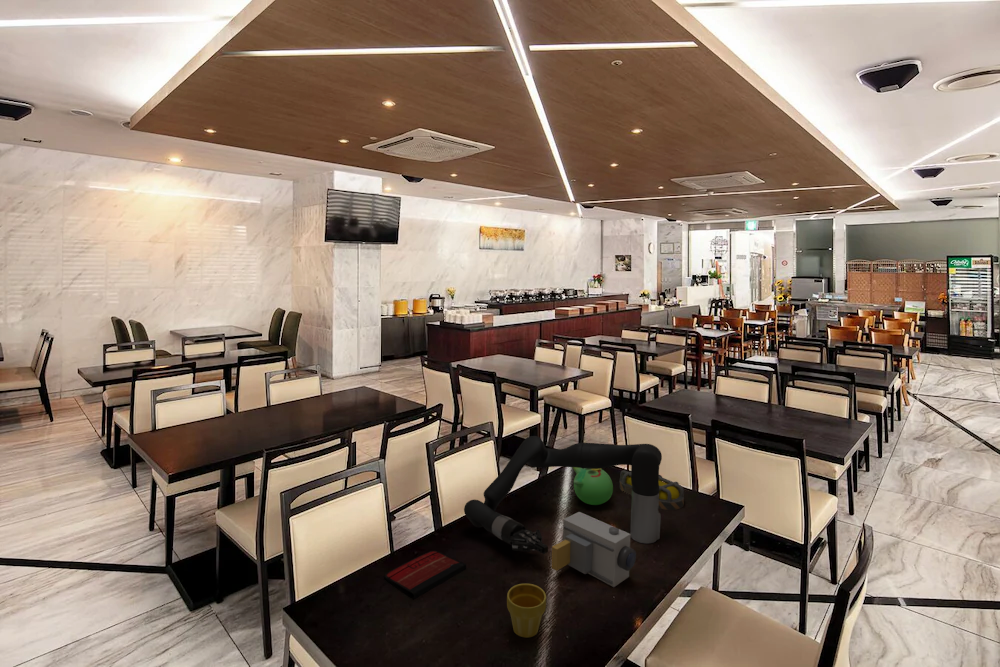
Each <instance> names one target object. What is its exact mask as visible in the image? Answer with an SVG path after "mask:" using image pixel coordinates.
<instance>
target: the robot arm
mask: <svg viewBox="0 0 1000 667" xmlns="http://www.w3.org/2000/svg"><path fill="white" fill-rule="evenodd" d="M662 458H663V457H662V452H661V450H660V448H658V447H657V446H656V445H653V444H651V443H637V444H636V443H635V444H611V443H596V442H577V443H574V444H572V445H569V446H567V447H563V448H559V449H558V448H548V447H546V446H545V443H544V441H543V439H542V438H541V437H540V436H537V435H530V436H528V437H526V438H525V439H523V441H522V442H521V444H520V445H519V446H518V448H517V449H516V451H515V452H514V453H513V455H512V457H511V458H510V460H509V461H508V462H507V464H506V465H505V467H504V468H503V469H502V471H501V472H500V474H498V476H497V477H496V478H495V479H494V480H493V481H492V482H491V483H490V484H489V486H487V487H486V488H485V490H484V492H483V498H484V502H482V501H481V500H478V499H471V500H469V501H467V502H466V503H465V504H464V508H463V512H464V515H465V517H466V518H467V519H468V520H469V522H470V523H471V524H472V525H473V526H474V527H476V528H484V530H485V531H487V532H488V533H490V534H492V535H494V536H495V537H497V538H498V539H499V540H501V541H503V542H504V543H506V544H508V545H510V546H511V549H512V550H511V551H515V552H527V553H529V552H531V551H537V552H539V553H541V554H543V555H545V554H547V553H548V551H549V550H548V549H549V547H548V545H547V544H545V543H543V537H542V534H541V533H542V532H541V530H540V529H536V530H535V531H532V530H529V529H526V527H525V526H524V524H523V523H521V522H518V521H517V520H514V519H513V518H511V517H509V516H506V515H503V514H501V513H499V512H497V509H498V506H499V504H500V503H501V502H502V501H503V500H504V499H505V498H506V496H508V494H509V493H510V492H511V491H512V489H513V488H514V485H515V483H516V481H517V478H518V477H519V474H520V473H521V471H522V469H523V468H524V466H525V465H526V464H528V465H529V466H530V467H533V468H555V467H559V468H560V467H563V468H572V467H577V468H582V469H584V468H589V469H600V468H602V469H605V468H612V467H616V466H623V465H624V466H630V467H631V468H630V472H631V483H632V496H631V502H630V503H631V505H630V506H631V507H630V508H631V509H630V530H629V531H630V533H629V534H631V535H630V539H632V540H633V541H635V542H637V543H640V544H653V543H655V542H656V541H658V540H660V535H661V519H662V517H661V512H659V508H658V506H659V475H660V465H661V463H662Z"/></svg>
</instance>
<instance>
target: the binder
mask: <svg viewBox="0 0 1000 667" xmlns="http://www.w3.org/2000/svg"><path fill="white" fill-rule="evenodd" d="M464 570H467V563H465V562H462V561H460V560H458V559H456V558H454V557H451V556H448V555H446V554H444V553H442V552H440V551H438V550H429V551H428V552H426V553H423V554H421V555H418V556H415V557H414V558H412V559H410V560H408V561H407V562H404V563H402V564H400V565H399V566H396V567H395V568H393V569H391V570H389V571H387V572H386V573H385V574H384V580H386V581H387V582H388V583H390V584H391V585H393V586H394V587H395V588H397V589H398V590H400V591H401V592H403V593H404V594H406V595H408V594H409V593H411V594H412V595H413V600H415V599H417V598H420V596H422V595H424V594H426V593H427V592H429V591H430V590H432V589H434V588H437V587H438V586H439V585H441V584H442V583H444V582H447V581H448V580H449V579H451V578H453V577H454V576H457V575H458V574H460V573H462V572H463V571H464Z"/></svg>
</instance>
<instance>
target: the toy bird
mask: <svg viewBox="0 0 1000 667" xmlns="http://www.w3.org/2000/svg"><path fill="white" fill-rule="evenodd" d="M571 468H572V469H573V471H574V472H575V474H576V475H575V476H574V479H573V489H574V492H575V495H576V496H577V498H578V499H579V500H580V501H581V502H583V503H584V504H587V505H590V506H591V505H592V506H599V505H600V506H601V505H602V504H604V503H606V502H608V501H609V500H610V499H611V497H612V495H613V492H614V485H613V481H612V479H611V477H610V475H609V474H608V473H607V472H606V471H605V470H604V469H603V468H600V469H589V468H577V467H571Z"/></svg>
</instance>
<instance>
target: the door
mask: <svg viewBox="0 0 1000 667" xmlns="http://www.w3.org/2000/svg"><path fill="white" fill-rule="evenodd" d="M566 566H569V567H571V568H573V569H575V570H577V571H578V572H580V573H582V574H584V575H586V574H588V572H590V571H591V570H592V542H590V541H588V540H585V539H583V538H581V537H579V536H577V535H575V534H573V533H571V534H569V535H568V536H566V540H564V541H563V540H562V541H560V542H558V543H556V544H555V545H553V546H552V547H551V569H552V570H554V571H556V572H557V571H559V570H560V569H563V568H564V567H566Z"/></svg>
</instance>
